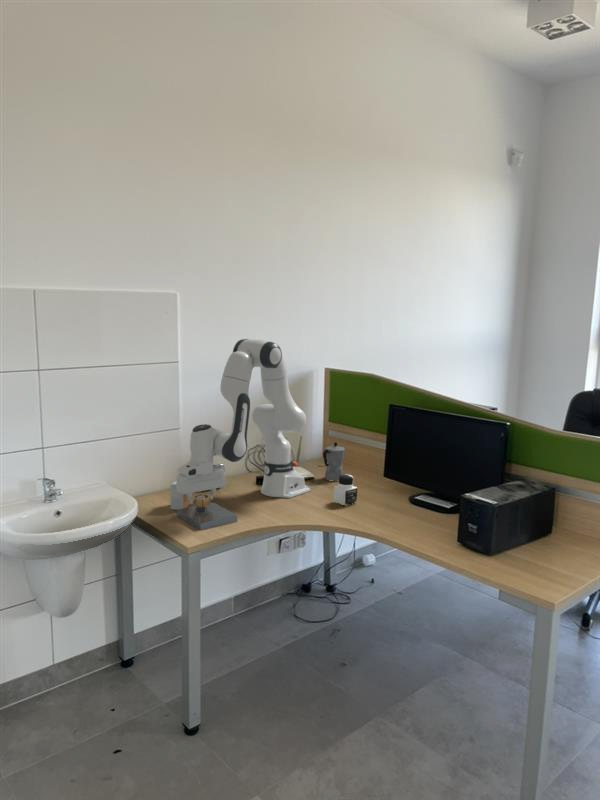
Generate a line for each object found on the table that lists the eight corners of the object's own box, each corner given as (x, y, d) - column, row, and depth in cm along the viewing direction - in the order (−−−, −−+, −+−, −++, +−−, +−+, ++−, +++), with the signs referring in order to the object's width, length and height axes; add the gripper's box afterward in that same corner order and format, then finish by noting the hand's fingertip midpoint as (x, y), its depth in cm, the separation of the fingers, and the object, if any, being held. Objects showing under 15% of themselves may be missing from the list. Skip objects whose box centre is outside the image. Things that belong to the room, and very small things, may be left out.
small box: (183, 510, 241) (183, 485, 239) (170, 509, 242) (170, 484, 240) (190, 504, 249) (191, 479, 247) (178, 503, 250) (178, 478, 248)
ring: (204, 500, 241) (204, 492, 240) (213, 504, 236) (213, 497, 235) (189, 503, 236) (189, 495, 236) (198, 507, 231) (198, 500, 231)
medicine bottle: (345, 506, 253) (346, 478, 251) (333, 502, 258) (334, 474, 256) (356, 503, 257) (358, 476, 255) (344, 499, 263) (346, 472, 261)
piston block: (213, 508, 245) (213, 490, 244) (237, 521, 231) (237, 502, 230) (177, 515, 235) (177, 497, 234) (200, 530, 221) (200, 510, 220)
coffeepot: (335, 474, 300) (336, 438, 298) (350, 478, 294) (352, 442, 291) (314, 480, 289) (316, 443, 286) (330, 484, 283) (331, 447, 280)
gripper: (220, 461, 243) (220, 494, 245) (174, 468, 230) (174, 503, 232) (229, 465, 238) (228, 498, 240) (182, 472, 225) (182, 508, 227)
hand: (201, 501), depth 236 cm, fingers closed on ring, 7 cm apart
